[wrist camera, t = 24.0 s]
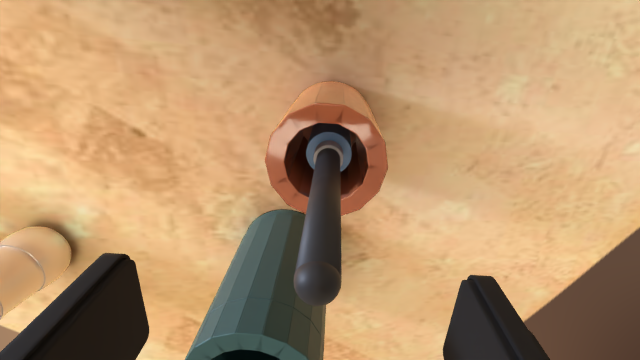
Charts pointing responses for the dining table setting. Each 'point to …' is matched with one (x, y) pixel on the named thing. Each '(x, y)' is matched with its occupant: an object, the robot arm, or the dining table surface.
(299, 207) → the crock
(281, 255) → the teal hollow cylinder
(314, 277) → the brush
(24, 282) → the metal bottle
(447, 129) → the dining table surface
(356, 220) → the dining table surface
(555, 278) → the dining table surface
